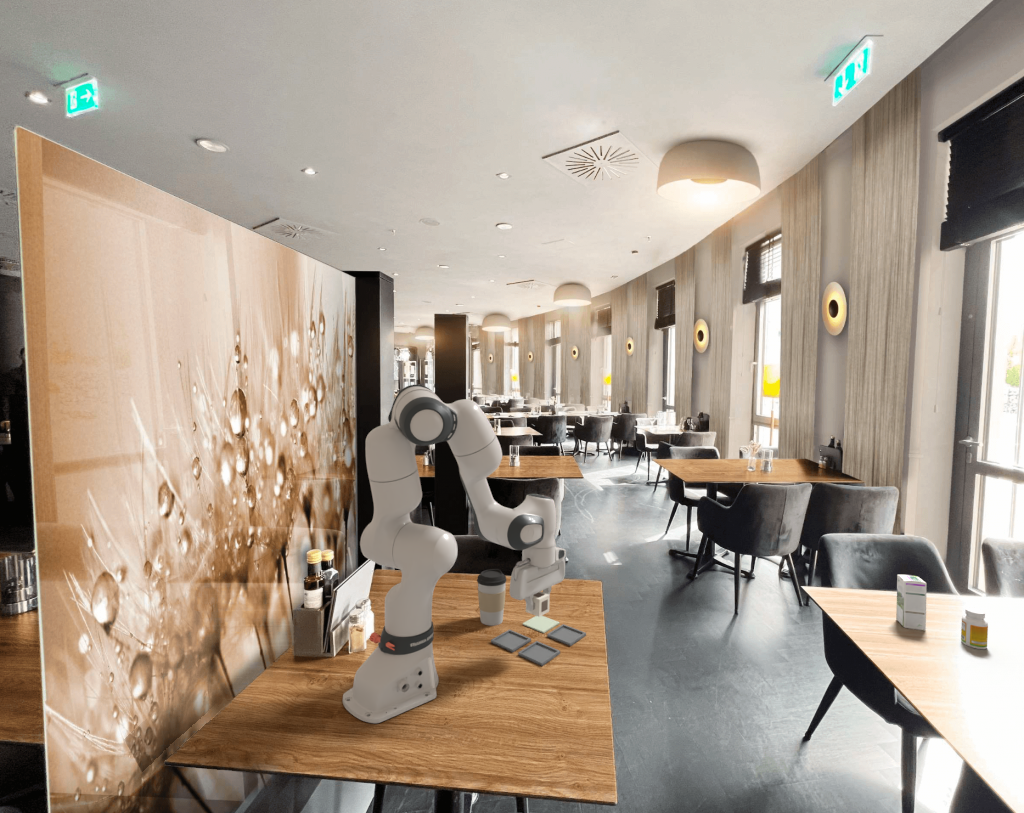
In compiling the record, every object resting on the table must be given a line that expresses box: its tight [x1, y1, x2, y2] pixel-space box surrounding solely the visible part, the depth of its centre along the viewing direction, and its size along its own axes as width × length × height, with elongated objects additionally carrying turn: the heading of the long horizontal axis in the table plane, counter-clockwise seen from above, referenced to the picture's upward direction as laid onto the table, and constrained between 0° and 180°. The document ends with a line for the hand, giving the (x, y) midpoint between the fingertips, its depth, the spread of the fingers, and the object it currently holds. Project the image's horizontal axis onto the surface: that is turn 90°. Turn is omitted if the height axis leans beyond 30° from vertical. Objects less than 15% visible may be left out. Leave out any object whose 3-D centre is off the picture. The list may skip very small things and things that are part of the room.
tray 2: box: [517, 640, 561, 667], centre depth 133 cm, size 8×8×1 cm
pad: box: [522, 615, 560, 634], centre depth 151 cm, size 8×8×1 cm
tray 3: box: [546, 623, 587, 647], centre depth 143 cm, size 8×8×1 cm
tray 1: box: [490, 629, 532, 654], centre depth 140 cm, size 8×8×1 cm
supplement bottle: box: [960, 607, 989, 650], centre depth 139 cm, size 5×5×10 cm
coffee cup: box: [476, 568, 507, 627], centre depth 153 cm, size 9×9×15 cm
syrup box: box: [895, 574, 927, 631], centre depth 151 cm, size 6×6×14 cm
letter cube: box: [525, 591, 550, 617], centre depth 133 cm, size 4×5×5 cm
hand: (537, 606), depth 133 cm, fingers closed on letter cube, 4 cm apart
